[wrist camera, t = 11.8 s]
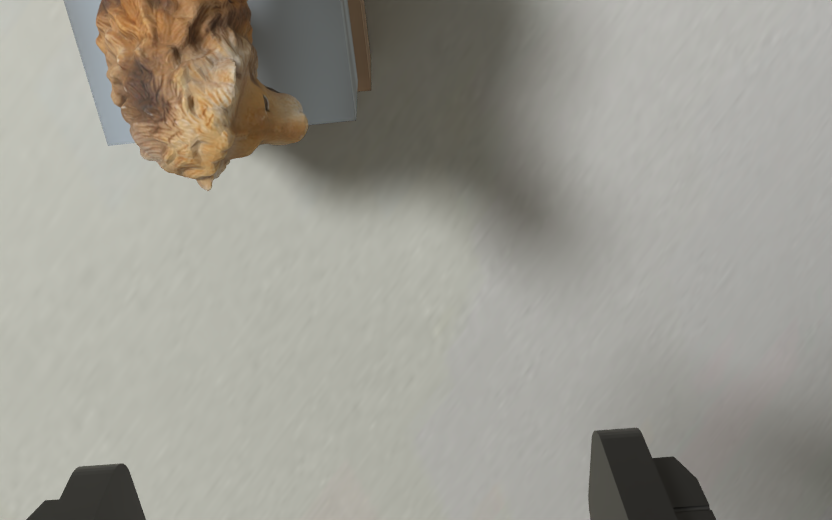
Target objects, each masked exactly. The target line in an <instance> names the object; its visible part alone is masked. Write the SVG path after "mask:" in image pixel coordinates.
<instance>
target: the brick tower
mask: <svg viewBox="0 0 832 520" xmlns="http://www.w3.org/2000/svg"><path fill="white" fill-rule="evenodd" d="M64 3H65V7H66V10H67V13H68V16H69V20H70V23H71V26H72V30H73V33H74V36H75V39H76V43H77V46H78V49H79V52H80V56H81V59H82V62H83V66H84V69H85V72H86V75H87V79H88V82H89V85H90V88H91V92H92V95H93V98H94V102H95V105H96V108H97V111H98V115H99V118H100V121H101V124H102V128H103V131H104V134H105V138H106V141H107V144H108V146H110V145H119V144H129V143H135V142H134V140H133V138H132V136H131V134H130V131H129V130H130V124H129V123H127V122H126V121H125V120H124V119H123V117H122V114H121V108H120V107H118V106H116V105H115V104H114V103H113V100H112V98H111V91H112V84H111V82H110V81H109V79H108V78H107V75H106V73H107V71H108V66H107V63H106V57H105V54H104V53H103V52H102V51H101V50H100V49H99V47H98V46H97V44H96V38H97V37H98V35H99V31H98V29H97V26H96V17H97V12H98V9H99V6H100V3H101V0H64ZM247 4H248V6H249V8H250V11H251V19H250V20H251V23H250V24H251V26H252V29H253V31H252V39H253V42H252V45H253V46H254V47H255V49H256V51H257V56H258V69H257V74H258V76H257V79H258V80H259V81H260V82H261V83H262V84H263V85H265V86H267V87H270V88H273V89H274V90H276V91H278V92H280V93H286V94H289V95H291V96H293V97H295V98H296V99H297V100H298V101H299V102H300V104H301V106H302V109H303V113H304V114H305V115H306V117H307V119H308V125H314V124H324V123H334V122H344V121H353V120H356V111H357V92H360V91H369V90H371V56H370V47H369V39H368V30H367V22H366V13H365V5H364V0H248V1H247Z"/></svg>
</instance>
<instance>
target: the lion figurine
mask: <svg viewBox="0 0 832 520" xmlns="http://www.w3.org/2000/svg"><path fill="white" fill-rule="evenodd" d="M247 1H248V0H101V3H100V6H99V9H98V12H97V17H96V26H97V29H98V31H99V35H98V37H97V38H96V44H97V46H98V47H99V49H100V50H101V51H102V52H103V53H104V54H105V57H106V63H107V66H108V71H107V73H106V75H107V78H108V79H109V81H110V82H111V84H112V91H111V98H112V100H113V103H114V104H115V105H116V106H118V107H120V108H121V114H122V117H123V119H124V120H125V121H126V122H127V123H129V124H130V130H129V131H130V134H131V136H132V138H133V140H134V142H135V143H136V144H137V145H138V146H139V147H140V154H141V156H142V157H143V158H144V159H146V160H149V161H156V162H158V164H159V165H160V167H161V168H163V169H164V170H165V171H167V172H169V173H175V174H177V175H180V176H184V177H188V178H192V179H196V180H197V182H198V183H199V185H200V186H201V187H202V188H204V189H205V190H207V191H209V190H210V189H211V188H212V182H213V180H214V179H215V178H218V177H219V176H220V174H221V173H222V172H223V171H224V170H225V168H226V165H228V164H229V163H230V160H231V159H235V158H241V157H245V156H248V155H250V154H252V153H253V151H254V150H255V149H256V148H257V147H258V146H259V145H260V144H272V145H286V144H290V143H295V142H298V141H300V140H301V139H302V138H303V137H304V136H305V134H306V132H307V130H308V119H307V117H306V115H305V114H304V113H303V109H302V106H301V104H300V102H299V101H298V100H297V99H296V98H295V97H293V96H291V95H289V94H286V93H280V92H278V91H276V90H274V89H273V88H270V87H267V86H265V85H263V84H262V83H261V82H260V81H259V80H258V79H257V76H258V74H257V69H258V56H257V51H256V49H255V47H254V46H253V45H252V42H253V39H252V31H253V29H252V26H251V24H250V23H251V20H250V19H251V11H250V8H249V6H248V4H247Z"/></svg>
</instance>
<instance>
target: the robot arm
mask: <svg viewBox="0 0 832 520" xmlns="http://www.w3.org/2000/svg"><path fill="white" fill-rule="evenodd" d="M588 497H589V511H590V519H591V520H716V518H715V516H714V514H713V512H712V510H710V508H709V503H708V501H707V499H706V497H705V495H704V493H703V491H702V489H701V486H700V484H699V482H698V480H697V478H696V477H695V476H693V475H692V474H691V473H690V472H689V471H688V470H687V469H686V468H685V467H684V466H683V465H682V464H681V463H680V462H679V461H678V460H677V459H676V458H674V457H662V458H652V457H651V454H650V452H649V449H648V447H647V445H646V442H645V440H644V437H643V435H642V433H641V431H640V430H639V429H638V428H627V429H613V430H599V431H594V432H593V435H592V445H591V461H590V477H589V495H588ZM26 520H146V519H145V516H144V513H143V510H142V507H141V504H140V501H139V498H138V495H137V492H136V489H135V486H134V484H133V481H132V478H131V475H130V472H129V470H128V468H127V466H126V465H124V464H110V465H96V466H82V467H78V468H76V469H75V470H74V472H73V473H72V475H71V477H70V479H69V481H68V483H67V485H66V487H65V489H64V491H63V493H62V495H61V497H60V499H59V500H46V501H44V502H43V503H42V504H41V505H40V506H39V507H38V508H37V509H36V510H35V511H34V512H33V513H32V514H31V515H30V516H29V517H28V518H27V519H26Z"/></svg>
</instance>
